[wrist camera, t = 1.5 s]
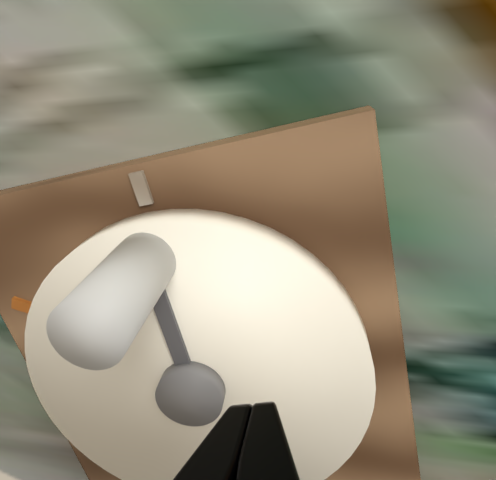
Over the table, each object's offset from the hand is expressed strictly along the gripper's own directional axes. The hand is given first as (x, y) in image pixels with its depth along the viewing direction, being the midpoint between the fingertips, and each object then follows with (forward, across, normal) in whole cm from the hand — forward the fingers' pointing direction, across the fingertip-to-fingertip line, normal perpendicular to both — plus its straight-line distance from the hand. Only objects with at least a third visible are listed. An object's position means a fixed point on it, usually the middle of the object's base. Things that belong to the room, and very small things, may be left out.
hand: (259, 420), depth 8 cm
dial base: (+12, +6, +6) cm, 15 cm away
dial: (+10, +6, +6) cm, 13 cm away
